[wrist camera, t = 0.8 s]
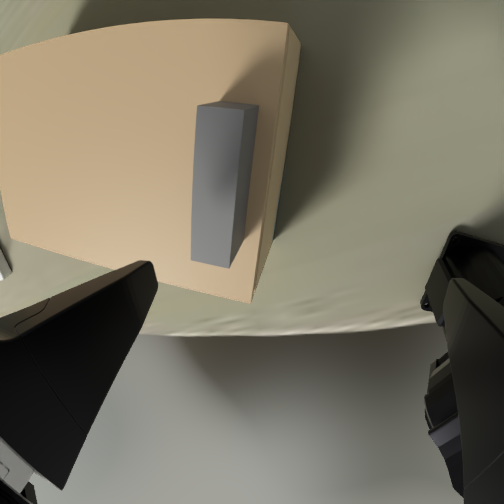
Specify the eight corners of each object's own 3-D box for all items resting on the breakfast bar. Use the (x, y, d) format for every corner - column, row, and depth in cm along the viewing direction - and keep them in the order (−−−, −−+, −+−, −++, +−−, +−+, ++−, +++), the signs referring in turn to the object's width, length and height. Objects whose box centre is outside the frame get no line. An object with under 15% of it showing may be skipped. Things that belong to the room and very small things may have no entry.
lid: (289, 25, 10) (278, 9, 8) (253, 296, 17) (239, 336, 14) (-1, 56, 13) (-37, 63, 10) (15, 234, 19) (-12, 254, 17)
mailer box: (301, 44, 16) (290, 26, 11) (272, 241, 22) (254, 293, 17) (60, 51, 18) (2, 56, 13) (65, 201, 25) (18, 232, 20)
